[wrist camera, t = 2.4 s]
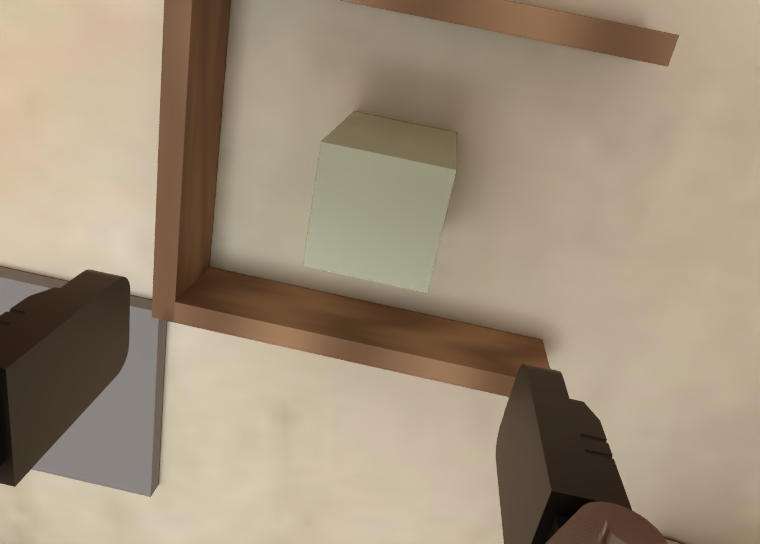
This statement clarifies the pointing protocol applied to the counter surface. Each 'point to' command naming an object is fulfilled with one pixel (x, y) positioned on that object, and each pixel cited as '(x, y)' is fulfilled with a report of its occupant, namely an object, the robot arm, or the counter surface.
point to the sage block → (381, 200)
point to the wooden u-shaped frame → (301, 305)
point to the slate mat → (110, 403)
